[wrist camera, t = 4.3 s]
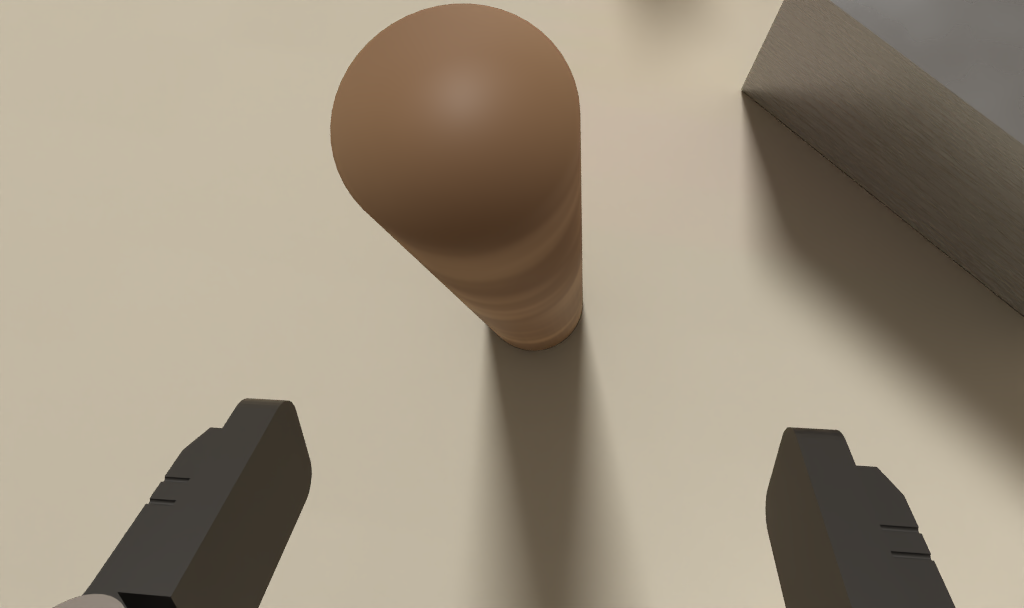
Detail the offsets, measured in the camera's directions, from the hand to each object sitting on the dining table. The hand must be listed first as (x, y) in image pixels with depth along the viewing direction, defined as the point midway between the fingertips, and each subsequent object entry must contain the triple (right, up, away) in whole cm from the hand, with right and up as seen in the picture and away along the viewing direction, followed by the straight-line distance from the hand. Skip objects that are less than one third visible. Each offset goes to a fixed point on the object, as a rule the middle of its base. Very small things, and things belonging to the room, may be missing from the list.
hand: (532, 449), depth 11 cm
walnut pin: (0, +2, +11) cm, 11 cm away
